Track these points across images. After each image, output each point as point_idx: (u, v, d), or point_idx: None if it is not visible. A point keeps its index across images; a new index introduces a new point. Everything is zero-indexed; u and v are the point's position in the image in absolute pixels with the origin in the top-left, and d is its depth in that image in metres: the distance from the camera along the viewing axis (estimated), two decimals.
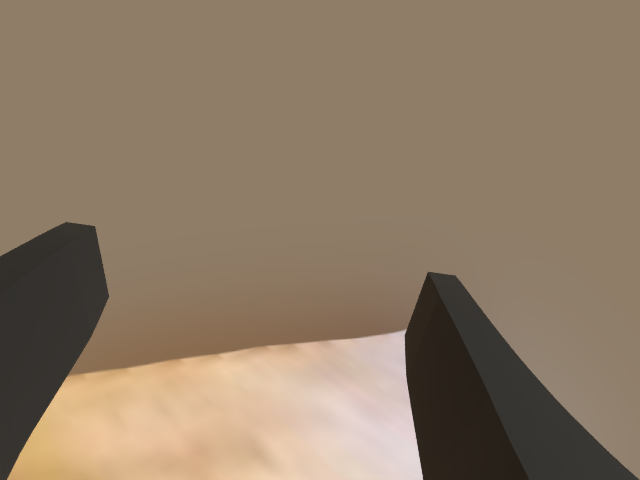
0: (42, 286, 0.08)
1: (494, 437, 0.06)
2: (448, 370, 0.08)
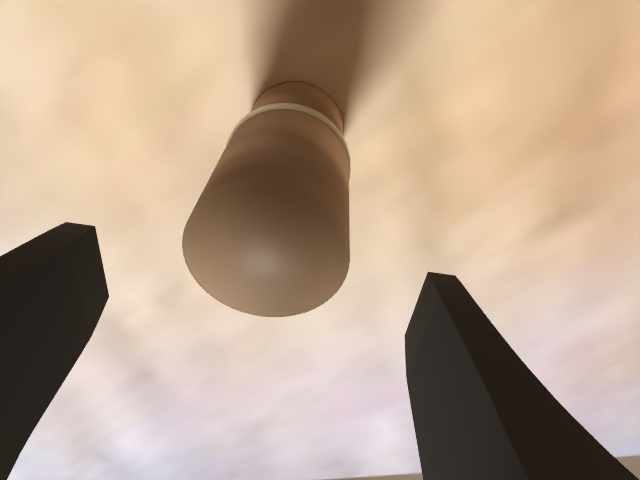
0: (42, 286, 0.08)
1: (494, 437, 0.06)
2: (448, 370, 0.08)
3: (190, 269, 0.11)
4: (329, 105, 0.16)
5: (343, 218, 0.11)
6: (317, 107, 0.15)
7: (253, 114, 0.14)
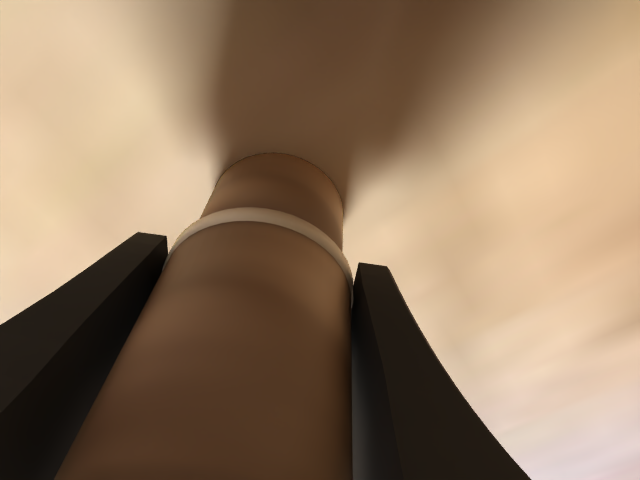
0: (127, 297, 0.08)
1: (385, 424, 0.06)
2: (364, 359, 0.08)
3: None
4: (322, 191, 0.11)
5: (342, 474, 0.06)
6: (304, 202, 0.10)
7: (203, 226, 0.09)
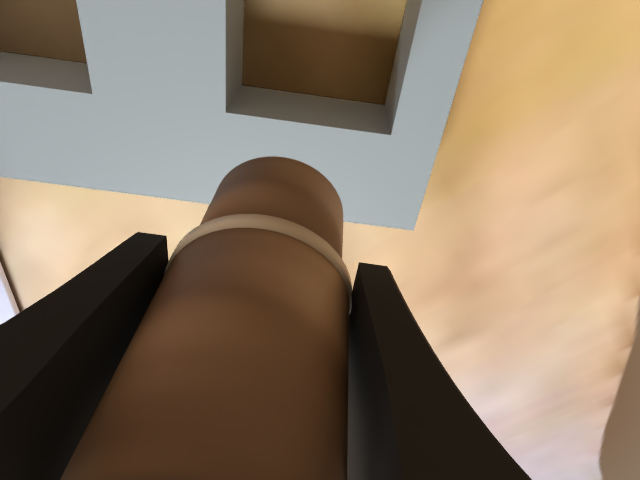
0: (128, 297, 0.08)
1: (386, 424, 0.06)
2: (365, 359, 0.08)
3: None
4: (324, 196, 0.11)
5: None
6: (305, 208, 0.10)
7: (205, 231, 0.09)
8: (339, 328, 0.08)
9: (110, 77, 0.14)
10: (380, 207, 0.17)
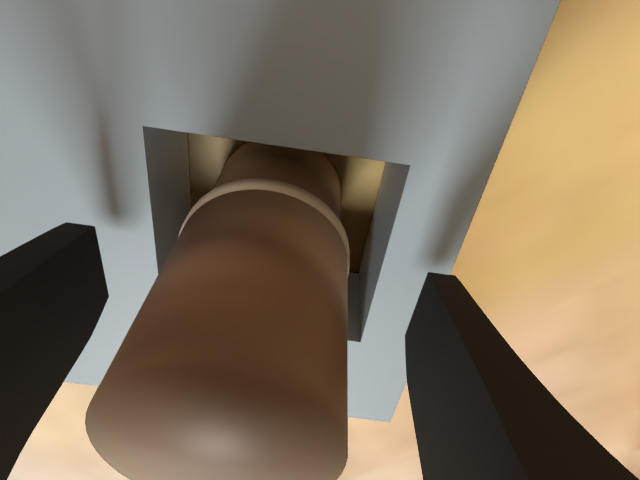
0: (43, 286, 0.08)
1: (494, 437, 0.06)
2: (448, 370, 0.08)
3: (104, 453, 0.07)
4: (323, 170, 0.12)
5: (339, 391, 0.07)
6: (306, 178, 0.11)
7: (217, 194, 0.10)
8: (339, 276, 0.09)
9: None
10: (351, 401, 0.14)
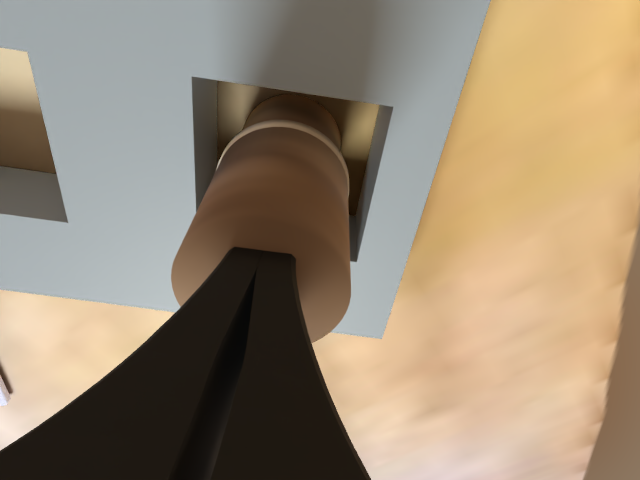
0: (243, 313, 0.08)
1: None
2: None
3: (178, 300, 0.10)
4: (327, 121, 0.15)
5: (345, 251, 0.10)
6: (315, 124, 0.14)
7: (249, 131, 0.13)
8: (342, 190, 0.12)
9: (85, 209, 0.15)
10: (349, 319, 0.17)
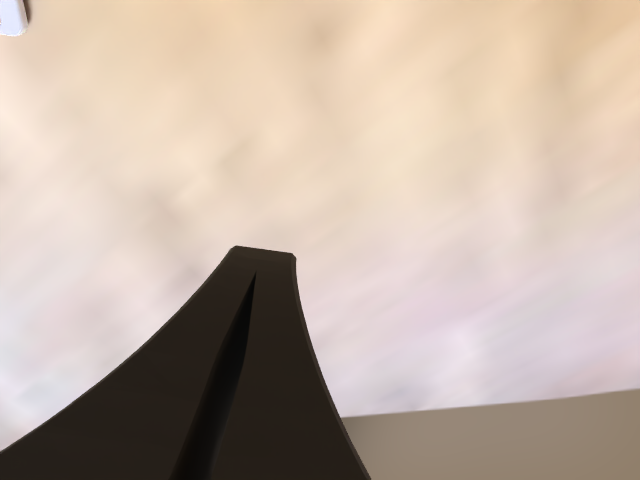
0: (244, 313, 0.08)
1: None
2: None
3: None
4: None
5: None
6: None
7: None
8: None
9: None
10: None
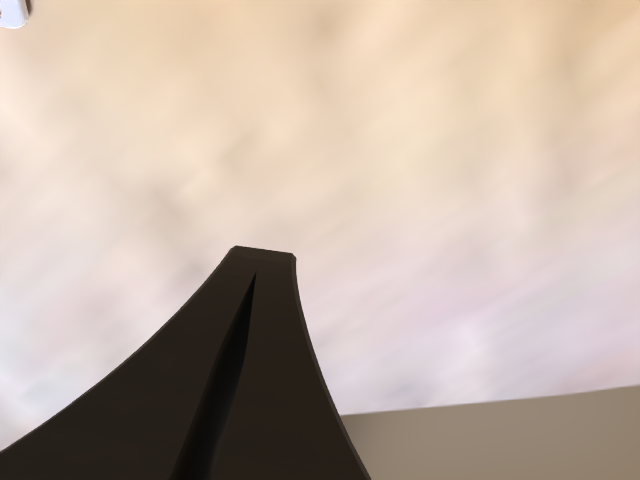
0: (244, 313, 0.08)
1: None
2: None
3: None
4: None
5: None
6: None
7: None
8: None
9: None
10: None
